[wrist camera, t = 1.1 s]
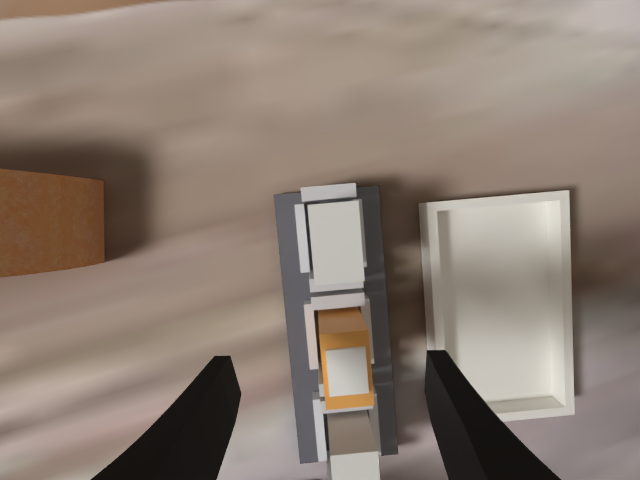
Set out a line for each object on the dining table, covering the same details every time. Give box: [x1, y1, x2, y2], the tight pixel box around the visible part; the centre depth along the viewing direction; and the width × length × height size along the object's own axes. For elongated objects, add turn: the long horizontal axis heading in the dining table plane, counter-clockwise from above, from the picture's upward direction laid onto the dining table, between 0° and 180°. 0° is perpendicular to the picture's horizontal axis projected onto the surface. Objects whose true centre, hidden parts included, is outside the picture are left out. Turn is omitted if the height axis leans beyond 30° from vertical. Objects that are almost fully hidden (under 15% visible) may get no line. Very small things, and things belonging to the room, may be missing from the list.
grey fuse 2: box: [327, 410, 380, 480], centre depth 21 cm, size 4×2×6 cm, turn 5°
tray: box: [418, 190, 575, 422], centre depth 23 cm, size 15×9×2 cm, turn 5°
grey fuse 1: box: [307, 200, 365, 286], centre depth 19 cm, size 4×2×6 cm, turn 5°
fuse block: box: [274, 183, 398, 480], centre depth 22 cm, size 19×7×4 cm, turn 5°
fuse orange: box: [318, 306, 374, 410], centre depth 20 cm, size 4×2×6 cm, turn 5°
